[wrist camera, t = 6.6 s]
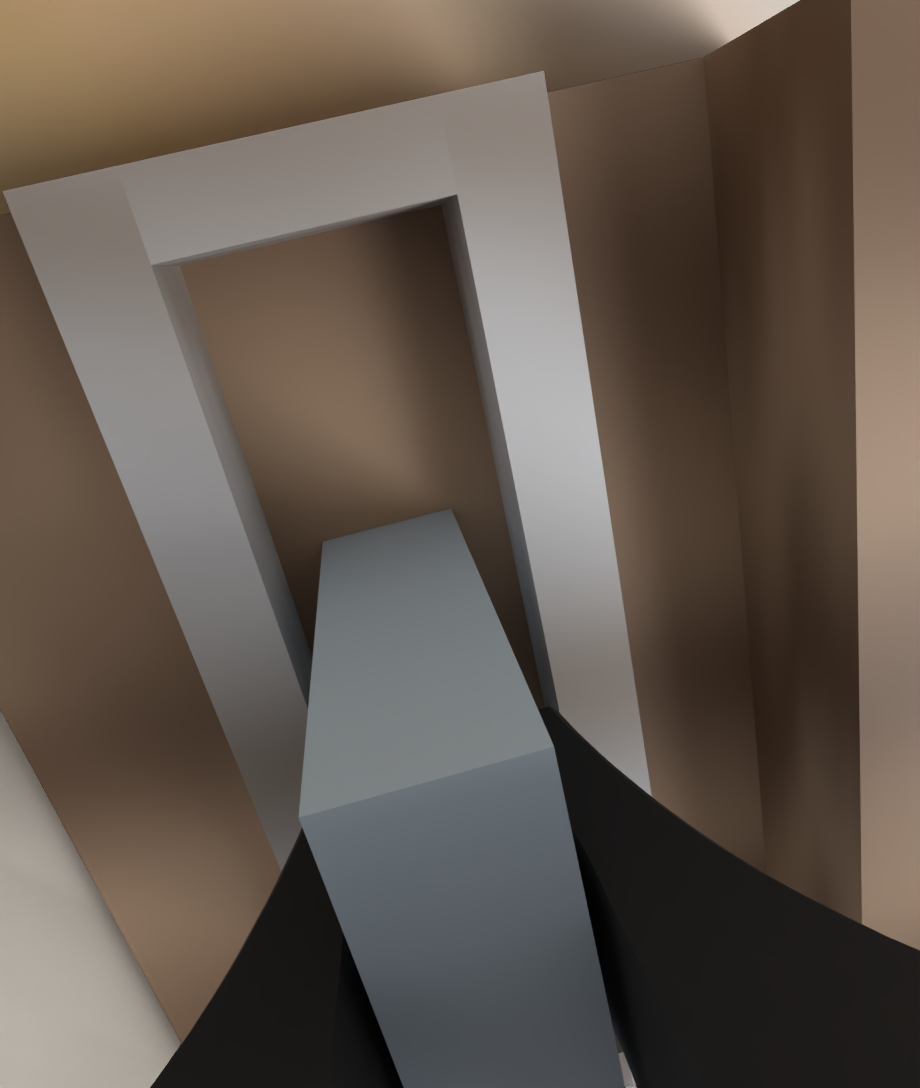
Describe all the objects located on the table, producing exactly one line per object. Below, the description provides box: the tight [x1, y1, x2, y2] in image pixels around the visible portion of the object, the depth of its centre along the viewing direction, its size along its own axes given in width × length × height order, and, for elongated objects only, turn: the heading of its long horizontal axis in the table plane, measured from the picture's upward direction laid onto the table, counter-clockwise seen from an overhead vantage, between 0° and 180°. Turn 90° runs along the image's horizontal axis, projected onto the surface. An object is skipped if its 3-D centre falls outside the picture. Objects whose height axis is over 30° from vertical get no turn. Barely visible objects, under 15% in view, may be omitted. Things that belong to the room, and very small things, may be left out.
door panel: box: [299, 509, 625, 1088], centre depth 10 cm, size 8×2×6 cm, turn 12°
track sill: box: [0, 0, 920, 1087], centre depth 11 cm, size 17×13×4 cm
